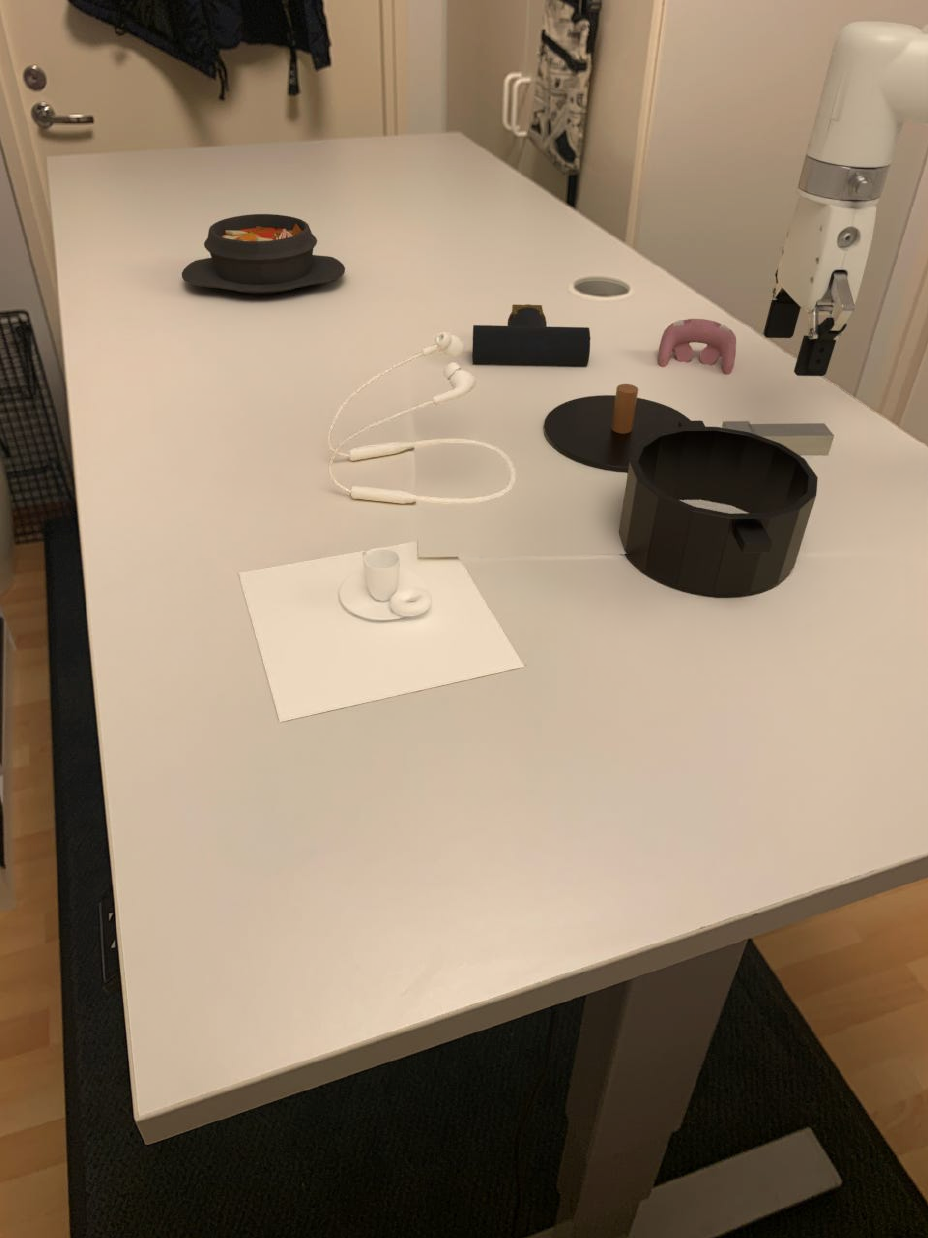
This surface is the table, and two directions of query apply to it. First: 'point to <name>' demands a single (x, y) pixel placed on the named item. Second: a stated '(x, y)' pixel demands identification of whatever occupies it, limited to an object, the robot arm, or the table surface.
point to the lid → (607, 427)
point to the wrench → (791, 435)
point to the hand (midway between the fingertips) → (792, 355)
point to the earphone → (461, 386)
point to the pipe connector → (530, 341)
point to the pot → (711, 540)
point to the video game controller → (698, 331)
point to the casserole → (261, 256)
